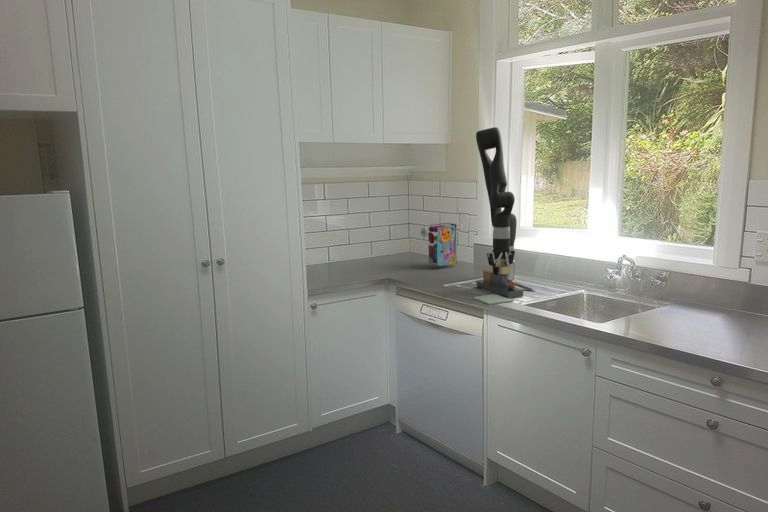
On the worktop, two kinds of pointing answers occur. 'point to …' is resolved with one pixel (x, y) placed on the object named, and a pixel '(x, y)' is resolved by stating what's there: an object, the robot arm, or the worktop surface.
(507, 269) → the lever cap
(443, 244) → the box
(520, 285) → the caliper
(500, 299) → the mat
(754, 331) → the worktop surface
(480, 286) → the hand plane
